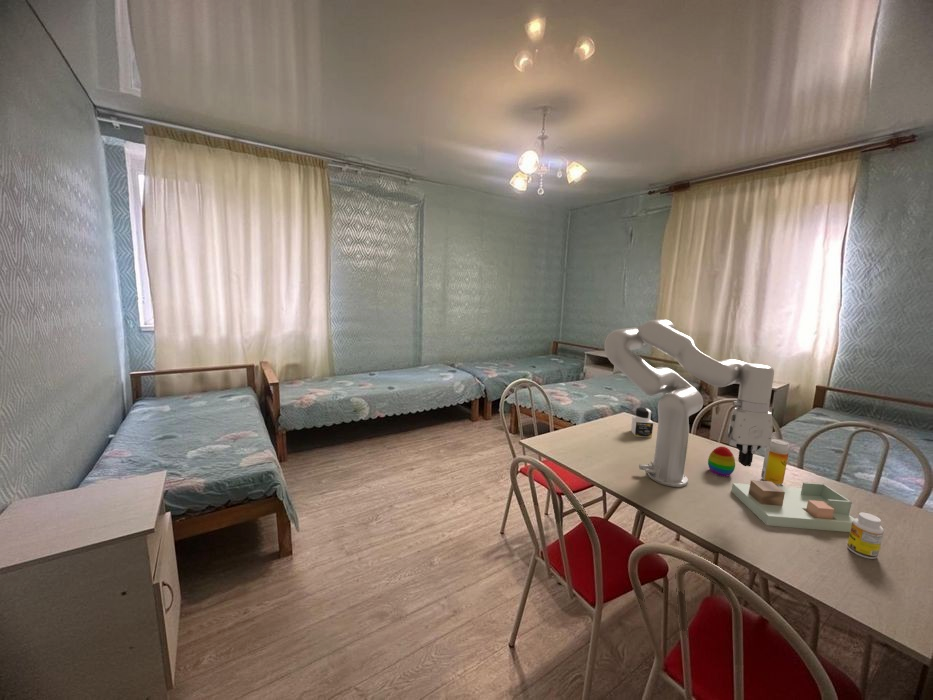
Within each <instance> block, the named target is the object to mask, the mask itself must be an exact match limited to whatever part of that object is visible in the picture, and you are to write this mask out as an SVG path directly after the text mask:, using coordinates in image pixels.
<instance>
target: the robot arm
mask: <svg viewBox="0 0 933 700" xmlns="http://www.w3.org/2000/svg"><path fill="white" fill-rule="evenodd" d="M648 347H652V348H655V349H657V350H658V351H660V352H662V353H663V354H665V355H667V356H669V357H670V358H672V359H674V360H675V361H676V362H677V363H678V364H679V365H680V366H681V367H682V369H684V371H686V372H688V374H690V375H692V376H694V377H695V378H696V379H698V380H700V381H703V383H706V384H708V385H710V386H713V387H716V388H725V387H727V386H730V385H733V384H739V387H738V396H737V398H736V400H735V401H733V402H732V406H733V407H734V408H733V410H732V413H731V415H730V420H729V425H728V429H727V438H728V439H727V444H728V445H729V446H732V447H735V448H737V450H739V452H738V462H739V463H740V464H741V465H742V466H743V467H751V466H752V463H753V459H754V458H753V457H754V455H755V454H756V453H757V451H758V450H759V449H764V448H766V447H768V445H770V444H771V441H772V438H773V431H774V430H773V422H774V421H773V414H772V412H770V411H769V410H770V404H771V397H772V391H773V383H774V376H775V369H774V368H773V367H772V366H769V365H766V364H761V363H748V362H745V361H742V360H739V359H734V358H726V359H722V360H717V359H715V358H712V357H711V356H709V355H708V354H705V353H703V352H702V351H700V350H699V349H698V347H696V345H695V341H694V339H693V338H692V337H691V336H689V335H687V334H685V333H683V332H680V331H679V330H676V326H675V325H674V323H673V322H672V321H670V320H668V319H663V318H660V319H659V318H658V319H650V320H647V321H645V322H644V323H642V325H639V326H634V327H627V328H619V329H614V330H613V331H611V332H610V333H608V334H607V336H606V338H605V340H604V347H603V348H604V352H605V355H606V357H607V359H608V360H609V361H610V363H611V364H612V365H613V366H614V367H615V368H616V369H618V370H619V371H620V372H621V373H622V374H623V375H625V376H626V378H628V379H629V381H631V382H632V384H633V385H635V386H636V387H637V388H638V389H639V390H640V391H641V392H643V393H644V394H645V395H646V396H649V397H655V396H658V395H662V396H661V397H660V399H659V401H658V404H657V415H658V417H657V418H658V423H657V432H656V441H655V449H654V450H655V452H654V458H653V460H652V461H650V463H648V464H643V463H639V464H638V470H641V471H644V472H645V473H647V476H648V477H649V478H650V479H651V480H653V481H654V482H656V483H658V484H660V485H664V486H665V487H666V486H667V487H671V488H672V487H673V488H681V487H686V486H687V485H688V483H689V479H688V478H689V477H687V476H686V475H685V467H686V466H685V465H686V461H687V460H686V458H687V452H688V447H689V446H688V444H689V437H690V424H689V423H690V422H689V418H690V416H692V415H695V414H696V413H698V412H699V411H701V409H702V408H703V405H704V399H703V398H704V397H703V396H702V394H701V392H699V390H697V388H695V386H693V385H692V384H690V383H689V382H688V381H687V380H686V379H684V377H682V376H681V375H680V374H679V373H678V372H676V371H675V370H674V369H671V368H670V367H667V366H659V367H653V366H652V365H650V364H649V363H648V362H647V361H645V360H644V359H643V358H642V357H641V356H639V355H637V354H636V353H634V352H632V351H634V350H639V349H643V348H648Z"/></svg>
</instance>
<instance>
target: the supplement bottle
mask: <svg viewBox="0 0 933 700" xmlns="http://www.w3.org/2000/svg"><path fill="white" fill-rule="evenodd" d="M854 518H855V517H854ZM881 524H882V519H880V518H879V517H878V516H876V515H874V514H871V513H869V512H868V513H867V512H859V513H858V515H857V517H856V518H855V519H854V520H853V522H852V526H851V531H850V532H849V536H848V540H847V548H848V549H849V551H851V552H852V553H853V554H855V555H857V556H859V557H861V558H864V559H871V560H873V559H877V558H878V556H879V552H880V548H881V544H882V540H883V536H884V532H885V530H884V528H883V527H882V526H881Z"/></svg>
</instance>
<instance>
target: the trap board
mask: <svg viewBox="0 0 933 700" xmlns="http://www.w3.org/2000/svg"><path fill="white" fill-rule="evenodd" d="M777 486H778V487H779V488H780V489H782V490H783V491H784V492H785V495H784V500H783V505H782V506H777V505H764V504H760V503H759V502H758V501H757V500H755V499H754V498H753V497H752V496H751V495H750V494H749V488H750V483H738V482H737V483H736V482H733V483H732V484H731V492H732V493H733V495H734V496H736V497H737V498H738V499H739V500H740V501H741V502H742V503H743V504H744V505H745V507H747V508H748V509H749V510H750V511H751V512H752V513H754V515H755V516H757V518H758V519H760V520H761V522H763V524H765V525H766V526H769V527H770V526H772V527H780V528H781V527H783V528H794V529H795V528H796V529H807V530H820V531H832V532H843V533H844V532H845V533H850V531H851V526H852V522H853V520H854V519H855V517H853V516H852V515H850V511H851V508H852V503H853V502H852V501H851V500H849V499H848V498H846V497H845V496H844V495H841V494H840V493H838V492H837V491H836V490H834V489H832V488H831V487H829V486H828V485H826V484H825V483H816V482H805V481H804V482H802V486H801V487H796V486H795V487H793V486H792V487H790V486H781V485H777ZM808 500H813V501H823V502H825V503H826V504H828V505H829V506H831V507H832V508H833V509H834V513H833V518H832V519H821V518H814V517H812V516H811V515H810V514H809V513H807V512H806V508H807V503H808Z"/></svg>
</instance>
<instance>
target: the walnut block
mask: <svg viewBox="0 0 933 700" xmlns="http://www.w3.org/2000/svg"><path fill="white" fill-rule="evenodd" d="M749 484H750V488H749V494H750V495H751V496H752V497H753V498H754V499H755V500H757V501H758V502H759V503H760V504H764V505H777V506H782V505H783V500H784V495H785V492H784V491H783V490H782V489H780V488H779V487H778V486H779V485H775V484H774V483H773V482H770V481H763V480H756V479H755V480H752V479H751V480H750V482H749Z"/></svg>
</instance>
